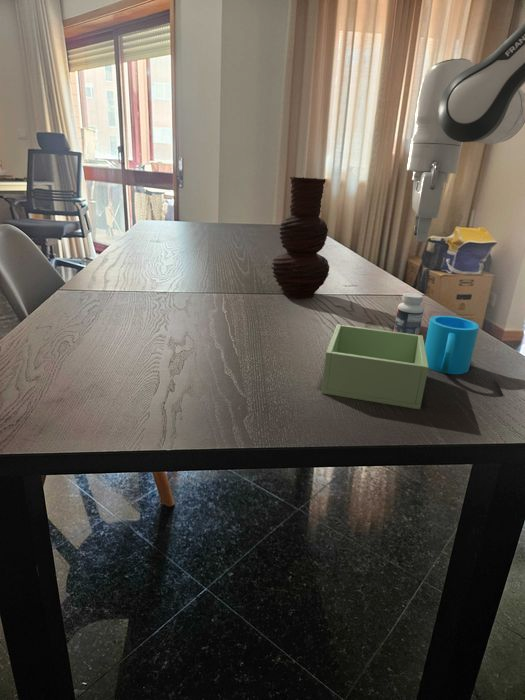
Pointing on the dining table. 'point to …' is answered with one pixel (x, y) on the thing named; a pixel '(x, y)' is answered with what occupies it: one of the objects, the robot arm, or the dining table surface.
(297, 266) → the vase
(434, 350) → the mug
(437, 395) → the dining table surface
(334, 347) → the basket
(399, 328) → the pill bottle
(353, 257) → the dining table surface
